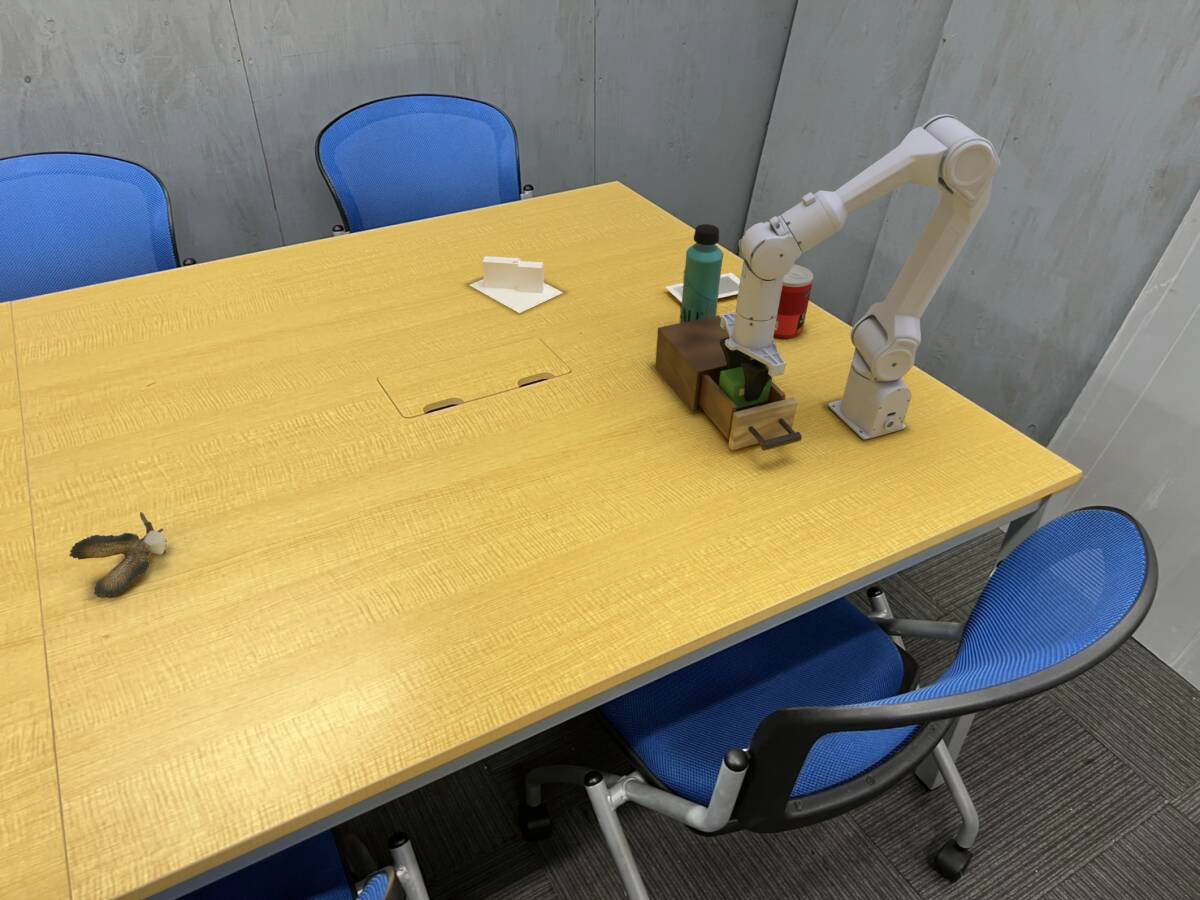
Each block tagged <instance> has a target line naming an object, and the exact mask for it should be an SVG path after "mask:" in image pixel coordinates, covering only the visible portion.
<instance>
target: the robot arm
mask: <svg viewBox="0 0 1200 900" xmlns="http://www.w3.org/2000/svg"><path fill="white" fill-rule="evenodd" d="M1000 166H1001V161H1000V159H999V156H998V153H997V152H996V148H995V147H994V145H993V143H992V142H991V141H990V140H988V139H987V138H986V137H984V136H981V135H979V134H978V133H976V132H975V131H974V130H972V129H971V128H969V127H968V126H967V125H965V124H964V123H963V122H962V121H961V120H960V118H958V117H956V116H955V115H952V114H948V113H947V114H946V113H945V114H944V113H943V114H939V115H936V116H935V115H934V116H933V117H931V118H930V119H928V120H926V122H925V123H923V125H922V126H921V125H920V126H917V127H916V128H913V129H911V130H910V131H909V132H908V134H907V135H906V136H905V137H904V139H902V141H901V143H900V144H899V145H897V146H896V147H895V148H893V149H892V150H891V151H889V152H888V153H886V154H885V155H883V157H881V158H880V159H878V160H877V161H875V162H874V163H872V164H871V165H870V166H867V168H866V169H864V170H862V171H861V172H860V173H859V174H857V175H856V176H854V177H853V178H851V179H850V180H848V181H847V182H846V183H844V184H843V185H841V186H840V187H839V188H837V189H836V190H835V191H829V190H822V189H821V190H818V191H817V192H815V193H812V192H811V191H810V192H807V194H805V195H803V196H802V197H801V199H802V201H801V202H798V203H797V204H796V205H794V206H793V207H791V208H790V209H787V210H786V211H785V212H783V213H781V214H780V215H778V216H777V215H774V216H773V217H771V218H770V219H769V221H764V222H762V221H761V222H758V223H756V224H753V225H751V226H750V227H749V228H748V229H747V230H746V231H745V232H744V235H742V237H741V239H739V240H738V248H739V252H740V253H741V255H742V256H743V258H744V259H743V260H742V267H741V275H740V278H739V279H740V285H739V292H738V294H737V299H736V307H735V313H734V312H729V313H726V314H721V315H720V317H721V322H720V326H721V327H722V328H723V329H727V333H728V338H724V339H721V340H720V346H721V348H722V350H723V352H724V355H725V359H726V363H727V369H728V370H729V369H733V368H737V367H742V368H743V372H744V377H745V389H744V396H745V400H746V401H747V402H750V401H754V400H758V399H759V397H760V395H761V393H762V391H763V389H764V388H765V386H766V384H767V383H768V381H769V380H770V378H771V377H772V378H775V377H780V376H782V375H784V374H785V370H786V365H787V362H786V361H785V360H784V359H783V358H782V355H781V353H780V351H779V348H778V346H777V343H776V341H775V337H773V336H774V330H775V324H776V319H777V313H778V307H779V302H780V296H781V291H782V285H783V278H784V275H786V274H787V273H788V272H789V271H790V270H791V269H792V267H793V265H794V264H795V262H797V260H798V259H799V258H801V255H802V254H803V253H805V252H808V251H809V250H810V249H812V248H813V247H815V246H817V245H818V244H820V243H822V242H823V241H825V240H827V239H829V238H830V237H832V236H833V235H835V234H836V233H838V232H840V231H841V230H843V228H844V225H845V222H846V220H847V217H848V216H849V215H850V214H853V213H854V212H856V211H858V210H860V209H862V208H863V207H865V206H867V205H869V204H871V203H873V202H874V201H875V202H876V200H878V199H881V198H882V197H884V196H887V194H889V193H891V192H893V191H895V190H897V189H900V188H901V187H903V186H904V185H907V184H910V185H911V184H912V185H918V186H923V187H930V188H937V191H938V194H939V196H940V200H939V203H937V206H936V208H935V209H934V212H933V213H932V214H931V217H930V219H929V220H928V222H927V224H926V225H925V228H924V229H923V231H922V233H921V235H920V236H919V238H918V240H917V242H916V243H915V246H913V249H912V251H911V252H910V254H909V256H908V258H907V260H906V261H905V263H904V265H903V267H902V269H901V271H900V272H899V274H898V276H897V277H896V279H895V281H894V283H893V285H892V287H891V289H890V290H889V292H888V294H887V296H886V297H885V299H884V300H883V301H880V302H876V303H873V304H871V305H870V307H869V309H868V310H867V312H866V313H865V314H864V315H863V316H862V317H861V318H860V319H858V320H857V322H856V323H855V324H854V325H853V326H852V328H851V331H850V341H851V344H852V345H853V346H854V347H855V348H854V351H853V357H852V359H851V363H850V367H849V370H848V375H847V378H846V382H845V386H844V391H843V393H842V394H843V395H842V399H839V400H835V401H831V402H828V403H827V404H828V405H827V407H828V408H829V409H830V410H831V411H832V412H833V413H834V414H835V415H836V416H838V417H839V419H841V421H843V422H844V424H846V425H847V426H848V427H849V428H850V429H851V430H852V431H853V432H854V433H856V434H857V436H858V437H860V438H861V439H862V440H864V441H865V440H869V439H874V438H877V437H880V436H884V435H887V434H890V433H894V432H898V431H902V430H905V429H906V427H907V425H906V424H905V423H904V422H905V418H906V415H907V412H908V409H909V406H910V403H911V400H912V392H911V390H910V389H909V387H908V386H907V385H906V383H905V382H904V379H903V377H905V376H906V375H907V374H908V373H909V372H910V371H911V369H912V368H913V366H914V364H915V361H916V354H917V353H916V352H917V351H918V347H919V346H920V344H921V342H922V335H921V318H922V316H923V314H924V313H925V312H926V309H927V308H928V307H929V304H930V303H931V301H932V299H933V298H934V296H935V295H936V293H937V291H938V290H939V288H940V286H941V284H942V282H943V281H944V280H945V277H946V276H947V274H948V273H949V271H950V269H951V267H952V266H953V264H954V262H955V261H956V259H957V257H958V256H959V255H960V252H961V251H962V249H963V247H964V246H965V244H966V243H967V241H968V239H969V237H971V235H972V233H973V230H974V229H975V227H976V226H977V224H978V223H979V221H980V219H981V217H982V215H983V214H984V213H985V210H986V209H987V208H988V205H989V203H990V202H991V201H990V200H991V196H992V189H993V188H992V187H993V179H994V176H995V174H996V173H997V171H998V169H999V168H1000ZM751 357H752V358H754V360H750V358H751Z"/></svg>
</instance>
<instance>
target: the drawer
mask: <svg viewBox="0 0 1200 900" xmlns="http://www.w3.org/2000/svg"><path fill="white" fill-rule="evenodd" d="M724 370H728V369H727V368H726V369H722V370H717V371H713V372H709V373H704V374H701V376H700V384H699V393H698V401H697V403H698V405H699V406H700V407H701V408H702V409H703V410H702V411H703V412H704V413H705V415H707V416H708V418H709V419H710V420H711V421H712V422H713V423H714V425H715V426H716V427H717V428H718V429H719V431H720V432H721V433H722V434H723V435H724V437H725V438H726V439H727V440H729V441H728V448H730V450H731V451H735V450H738V449H742V448H746V447H750V446H752V445H753V446H754V445H757V444H760V445H759V446H760V448H761V450H762V451H764V452H766V451H768V450H769V451H770V450H772V449H777V448H779V447H780V448H781V447H783V446H788V445H791V444H794V443H798V442H801V441H802V439H803V437H802V434H801V432H800V431H795V430H794V429H793V425H794V420H795V416H796V411H797V407H798V401H797V400H796V398H794V397H789V398H786V393H785V392H784V391H783V390H782V389H781V388H780V387H779V386H778V385H777V384H776V383H775V382H774V381H773V380H772V382H771V387H770V393H769V398H768V401H766V402H762V403H758V404H754V405H750V406H746V407H742V408H738V409H737V406H736V405H735V404H734V403H733V402H732V401H731V399H730V398H729V397H728V396H727V395H726V394H725V393H724V392H723V391H722V389H721V388H720V387H719V381H720V373H721V371H724Z"/></svg>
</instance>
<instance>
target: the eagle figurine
mask: <svg viewBox="0 0 1200 900" xmlns="http://www.w3.org/2000/svg"><path fill="white" fill-rule="evenodd" d="M139 516H140V520H141V522H142V523H143V526H145V535H144V536H143V537H142V538H140V536H139V535H137V534H136V533H131V532H123V533H121V534H119V535H113V534H110V535H104V534H103V535H99V534H94V535H90V536H87V537H86V538H83V539H81V540H79V541H78V542H75V543H74V545H73V546H71V549H70V550H69V552H70V553H69V555H68V556H69V557H72V559H78V560H87V559H104V558H109V557H113V556H117V555H121V559H122V560H121V561H119V563H118V564H117V565H115V566H114V567H113V568H112V569H111V570H110V571H108V572H107V574H106V575H104V576H102V577H100V578H99V579H98V580H96V582H95V586H94V591H93V593H94V595H95V596H96V597H101V598H105V597H108V598H111V597H116V596H118V595H120V594H122V593H123V592H124V591H126V590H127V589H128V587H129V586H130V585H132V584H133V581H135V580H136V579H138V578H139V576H143V574H145V573H146V572H147V571H148V568H149V567H150V561H149V560H150V559H149V557H150V556H149V555H150V554H153V555H154V554H155V555H158V556H161V555H163V554H164V553H165V554H166V547H167V542H168V540H167V539H166V537H165V535H164V534H163V533H162V532H163V531H164V528H162V527H161V528H160V529H158V530H155V528H154V526H153V524H152V522H151V521H149V520H148V519H147V518H146V516H145V513H143V511H140V512H139Z"/></svg>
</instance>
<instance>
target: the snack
mask: <svg viewBox="0 0 1200 900" xmlns="http://www.w3.org/2000/svg"><path fill="white" fill-rule="evenodd" d="M772 381H773V377H771V378H770V380H769V381H768V383H767V384H766V386H765V388H764V389H763V391H762V393H761V395H760V397H759V399H758V400H754V401H750V402H747V401H746V400H745V396H744V389H745V377H744V372H743V368H742V367H737V368H733V369H729V370H724V371H721V373H720V381H719V387H720V388H721V389H722V391H723V392H724V393H725V394H726V395H727V396H728V397H729V398H730V399H731V401H732V402H733V403H734V404H735V405H736V406H737V409H738V408H742V407H746V406H750V405H754V404H758V403H762V402H766V401H768V398H769V393H770V387H771V382H772Z"/></svg>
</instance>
